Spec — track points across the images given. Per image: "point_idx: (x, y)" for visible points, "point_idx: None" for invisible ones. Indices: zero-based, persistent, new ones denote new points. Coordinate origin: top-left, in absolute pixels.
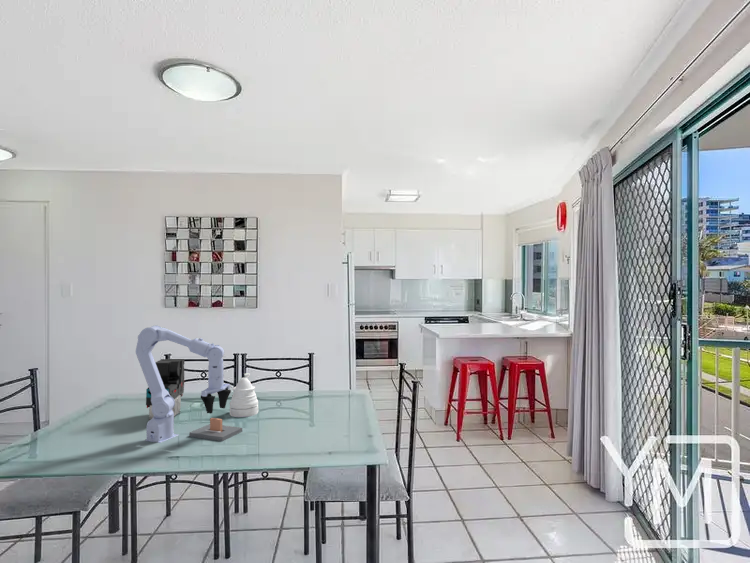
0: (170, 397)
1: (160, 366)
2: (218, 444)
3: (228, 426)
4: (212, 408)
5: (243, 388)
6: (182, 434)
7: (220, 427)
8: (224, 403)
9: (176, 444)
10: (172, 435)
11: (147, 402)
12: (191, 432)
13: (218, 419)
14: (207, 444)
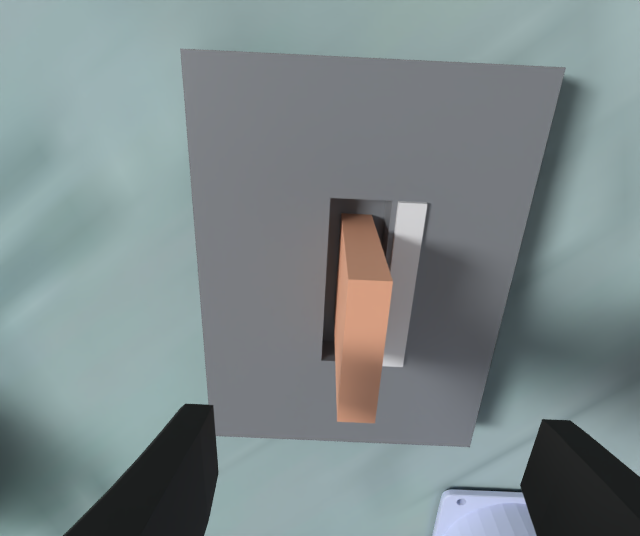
0: None
1: None
2: (599, 73)
3: (208, 243)
4: (616, 483)
5: None
6: (402, 488)
7: (375, 241)
8: (178, 480)
9: (614, 406)
10: (501, 513)
11: None
12: (465, 434)
13: (382, 314)
14: (604, 183)
